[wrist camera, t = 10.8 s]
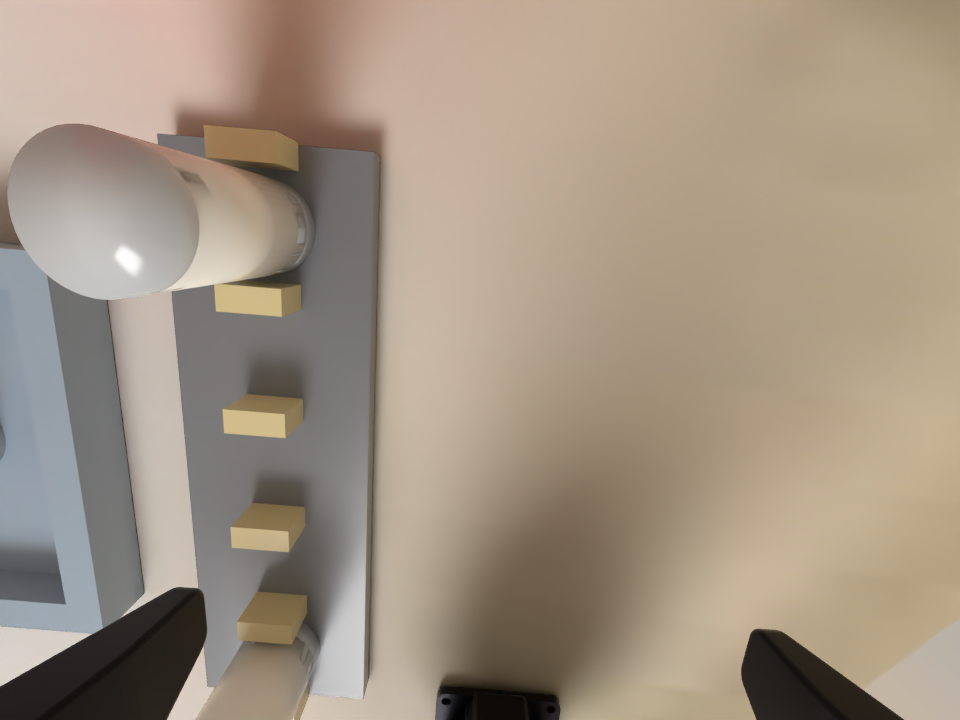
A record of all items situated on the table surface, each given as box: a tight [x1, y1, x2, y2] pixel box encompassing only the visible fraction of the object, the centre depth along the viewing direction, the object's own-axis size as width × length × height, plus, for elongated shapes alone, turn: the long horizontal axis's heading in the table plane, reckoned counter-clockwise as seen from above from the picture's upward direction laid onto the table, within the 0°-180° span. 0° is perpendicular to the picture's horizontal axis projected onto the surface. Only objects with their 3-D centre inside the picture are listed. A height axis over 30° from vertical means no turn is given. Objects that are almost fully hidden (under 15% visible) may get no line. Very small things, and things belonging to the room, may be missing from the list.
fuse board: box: [157, 125, 380, 720], centre depth 20 cm, size 26×8×3 cm, turn 175°
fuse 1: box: [7, 124, 315, 300], centre depth 14 cm, size 4×4×8 cm
